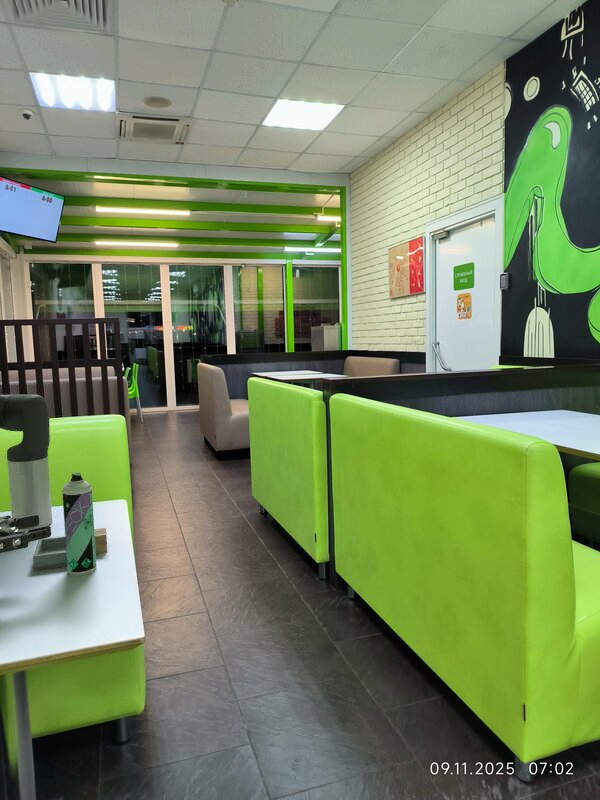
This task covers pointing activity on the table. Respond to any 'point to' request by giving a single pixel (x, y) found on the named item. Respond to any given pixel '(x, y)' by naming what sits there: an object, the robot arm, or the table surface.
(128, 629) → the table surface
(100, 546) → the chock block
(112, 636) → the table surface
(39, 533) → the robot arm
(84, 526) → the spray can
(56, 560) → the tray
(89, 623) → the table surface
